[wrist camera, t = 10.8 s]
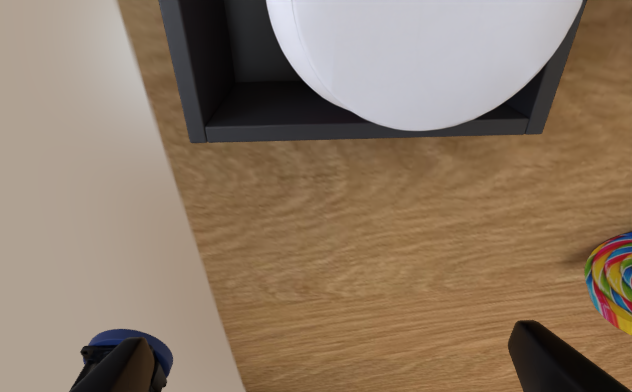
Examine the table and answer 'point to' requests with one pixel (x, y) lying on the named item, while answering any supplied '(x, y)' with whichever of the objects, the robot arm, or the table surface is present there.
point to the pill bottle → (419, 53)
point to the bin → (300, 83)
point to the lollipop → (612, 280)
